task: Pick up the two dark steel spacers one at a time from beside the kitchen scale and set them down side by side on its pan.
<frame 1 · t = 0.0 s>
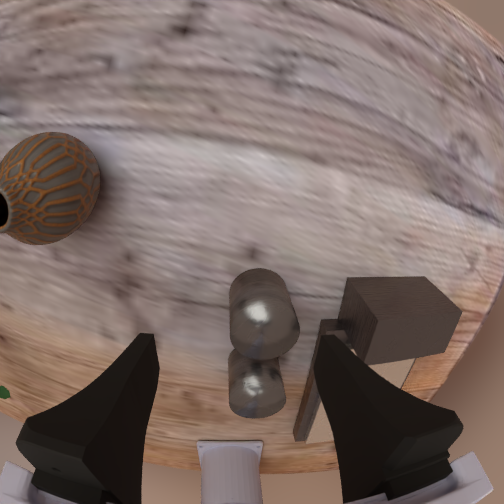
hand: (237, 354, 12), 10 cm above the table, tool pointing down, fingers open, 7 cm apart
scale: (354, 381, 28), on the table
spacer b: (258, 294, 23), on the table
brown egg-shaped piece: (73, 176, 18), on the table
spacer a: (252, 360, 26), on the table
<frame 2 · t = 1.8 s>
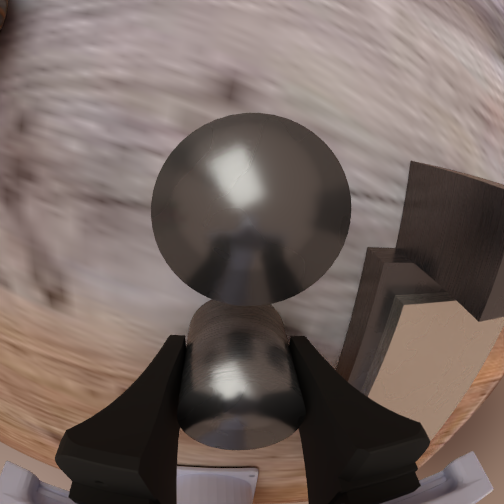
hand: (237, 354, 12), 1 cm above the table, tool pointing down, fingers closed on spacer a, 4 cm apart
scale: (408, 373, 16), on the table
spacer b: (242, 180, 11), on the table
spacer a: (236, 334, 14), on the table, touching gripper
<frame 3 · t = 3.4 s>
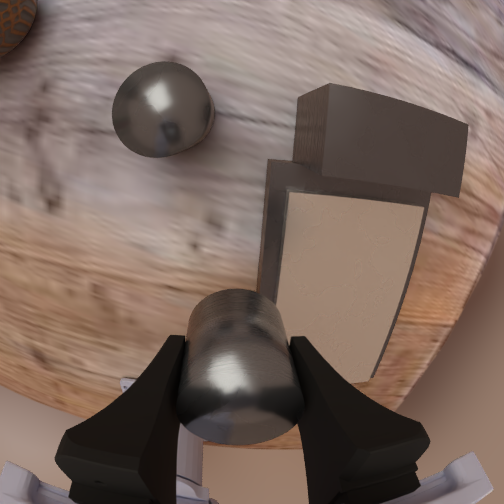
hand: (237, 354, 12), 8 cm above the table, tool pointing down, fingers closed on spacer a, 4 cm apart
scale: (332, 286, 21), on the table
spacer b: (177, 114, 16), on the table
brown egg-shaped piece: (17, 26, 11), on the table
spacer a: (235, 329, 14), point 7 cm above the table, touching gripper
when the fingers open (5 cm above the table, at t = 4.9 s): spacer a drops 1 cm, resting on scale.
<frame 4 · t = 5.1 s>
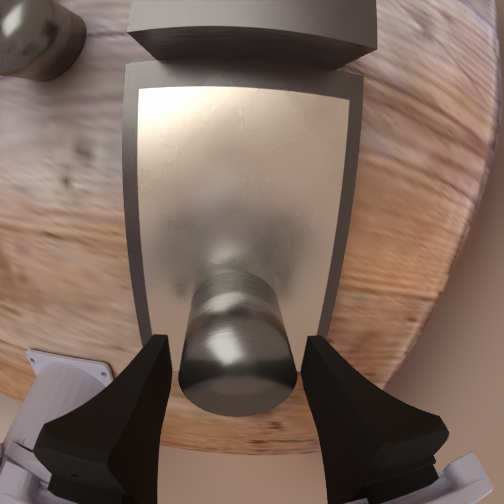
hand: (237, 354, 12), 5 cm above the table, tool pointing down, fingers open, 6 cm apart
scale: (236, 229, 16), on the table
spacer b: (54, 46, 11), on the table
spacer a: (234, 310, 15), point 2 cm above the table, touching scale
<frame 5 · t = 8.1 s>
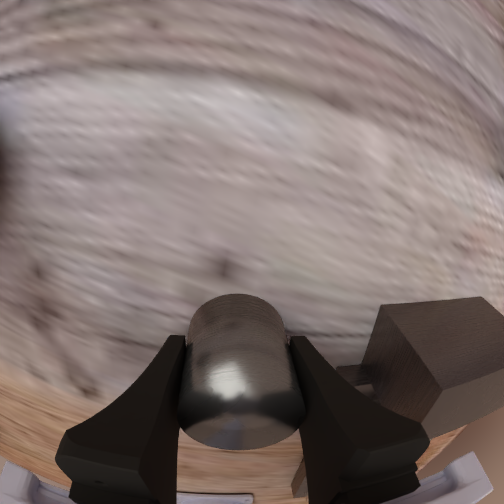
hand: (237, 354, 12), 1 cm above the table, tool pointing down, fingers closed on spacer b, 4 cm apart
scale: (374, 433, 19), on the table
spacer b: (236, 334, 14), on the table, touching gripper
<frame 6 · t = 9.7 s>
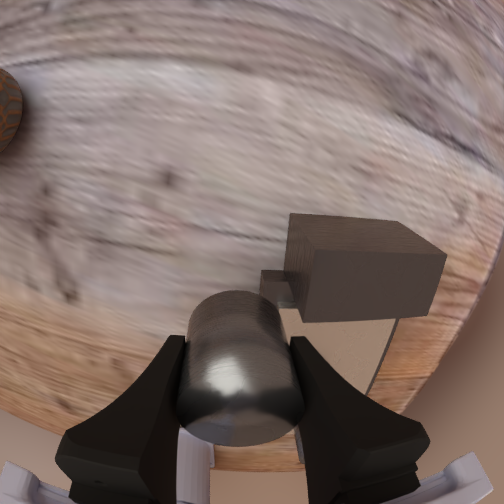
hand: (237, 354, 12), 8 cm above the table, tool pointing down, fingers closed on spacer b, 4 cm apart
scale: (317, 360, 24), on the table
spacer b: (235, 330, 14), point 7 cm above the table, touching gripper
brown egg-shaped piece: (5, 113, 14), on the table
when the fingers open (5 cm above the table, at t = 11.2 s): spacer b drops 1 cm, resting on scale.
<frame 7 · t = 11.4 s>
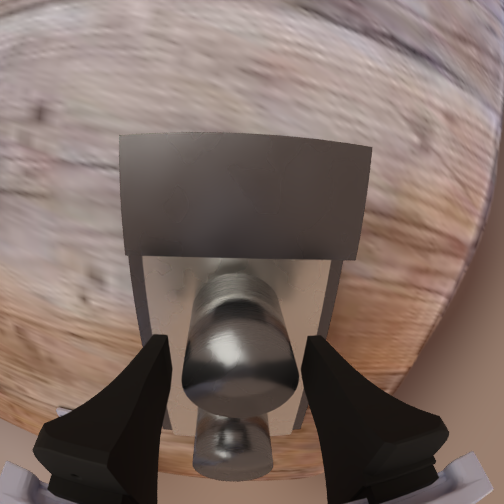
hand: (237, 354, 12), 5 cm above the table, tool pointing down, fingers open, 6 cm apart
scale: (233, 341, 19), on the table
spacer b: (236, 311, 15), point 2 cm above the table, touching scale
spacer a: (232, 403, 18), point 2 cm above the table, touching scale
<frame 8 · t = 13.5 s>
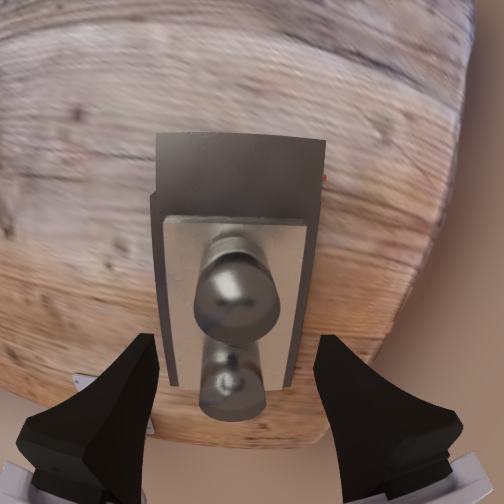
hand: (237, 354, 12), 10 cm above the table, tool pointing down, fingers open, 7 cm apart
scale: (231, 300, 23), on the table
spacer b: (234, 268, 20), point 2 cm above the table, touching scale
spacer a: (230, 354, 22), point 2 cm above the table, touching scale
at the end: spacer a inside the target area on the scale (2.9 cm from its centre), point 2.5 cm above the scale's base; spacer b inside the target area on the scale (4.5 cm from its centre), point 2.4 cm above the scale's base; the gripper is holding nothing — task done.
